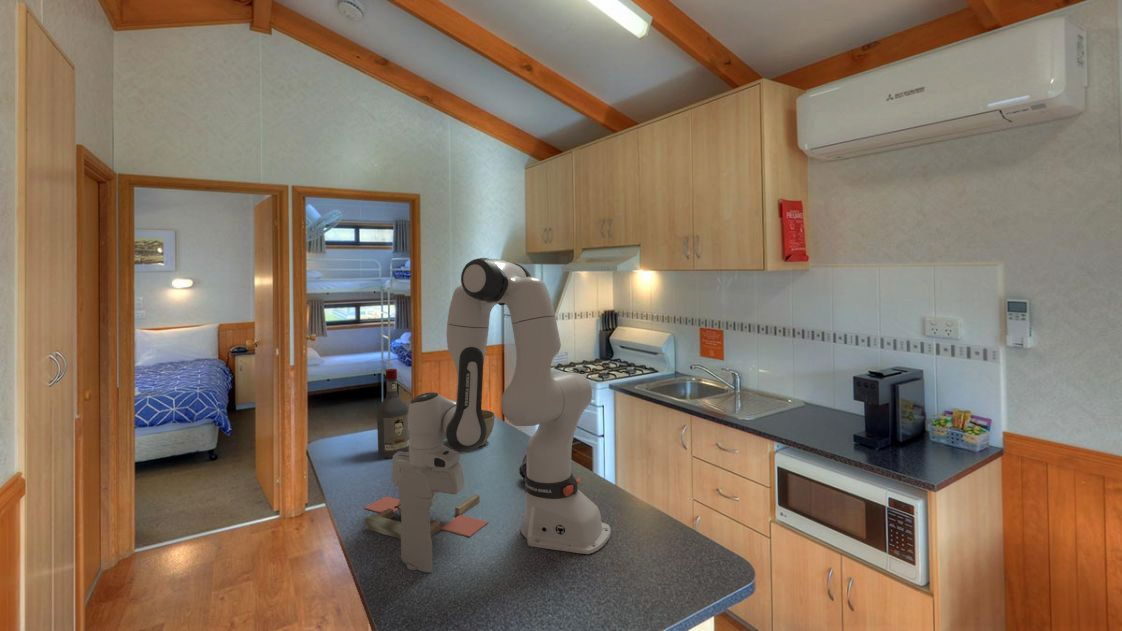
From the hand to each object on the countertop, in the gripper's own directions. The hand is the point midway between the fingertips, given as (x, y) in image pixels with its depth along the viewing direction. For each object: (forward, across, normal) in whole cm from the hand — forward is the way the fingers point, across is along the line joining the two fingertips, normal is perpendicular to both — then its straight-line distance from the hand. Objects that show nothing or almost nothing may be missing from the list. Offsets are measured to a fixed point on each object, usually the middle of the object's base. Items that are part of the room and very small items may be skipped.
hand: (427, 504), depth 141 cm
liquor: (+3, -36, +36) cm, 51 cm away
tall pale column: (+2, +11, -22) cm, 25 cm away
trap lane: (+2, 0, -1) cm, 3 cm away
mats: (+2, 0, -2) cm, 3 cm away
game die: (+2, -2, -5) cm, 6 cm away
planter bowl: (+3, -14, +54) cm, 56 cm away
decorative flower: (+3, +22, +28) cm, 36 cm away
